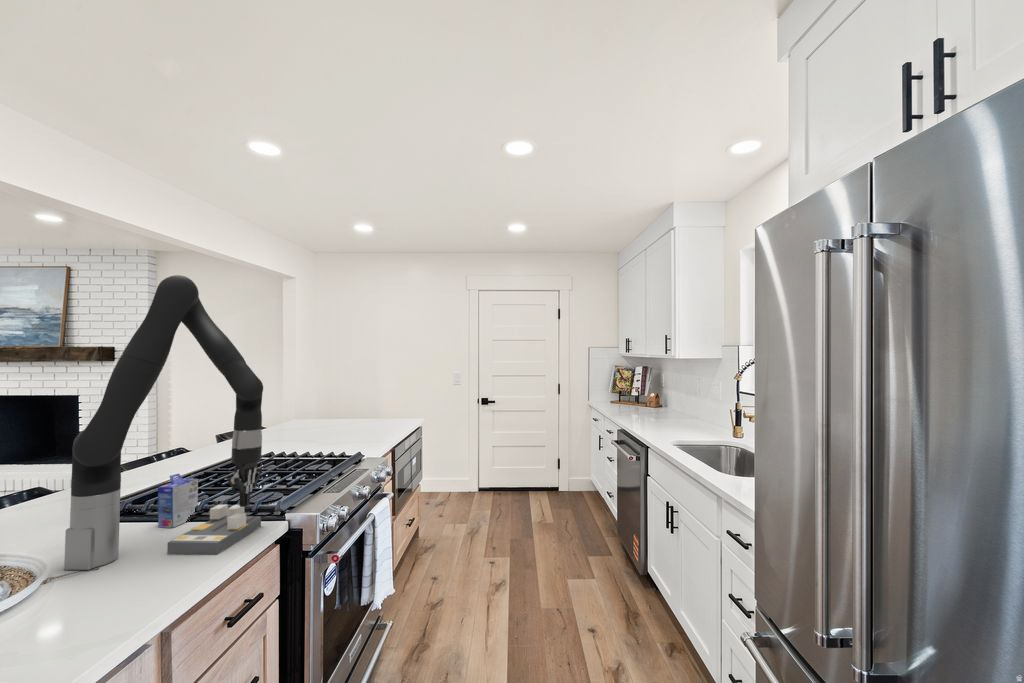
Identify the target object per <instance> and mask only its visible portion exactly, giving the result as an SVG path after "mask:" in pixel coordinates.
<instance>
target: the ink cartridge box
mask: <svg viewBox="0 0 1024 683" xmlns="http://www.w3.org/2000/svg"><path fill="white" fill-rule="evenodd" d="M175 477H177V478H176V479H174V478H175ZM169 479H170V482H169V483H166V484H164V485H161V486H158V487H157V504H158V505H157V515H158V518H157V521H158V523H157V525H158V528H166V529H172V528H175V527H178V526H180V525H182V524H185V523H186V521H187V519H188V517H190V515H192V514H193V513H194V512H195V507H196V506H197V505H198V504H199V502H198V501H199V500H198V498H199V496H198V494H199V482H198V481H199V479H198V478H187V477H186V478H183V477H182V476H181V474H180V473H175V474H172V475H169ZM198 506H199V505H198ZM187 522H188V521H187Z"/></svg>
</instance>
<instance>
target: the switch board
mask: <svg viewBox="0 0 1024 683" xmlns="http://www.w3.org/2000/svg"><path fill="white" fill-rule="evenodd" d="M227 520H228V519H227V516H225V517H223V518H221V519H209V520H208V521H206V522H204V523H201V524H199V525H196V526H195V527H192V528H191V529H190V530H188V531H186V532H185V533H183V534H181V535H179V536H177V537H174V538H173V539H171V540H170V541H168V542H167V544H166V546H167V550H166V551H167V552H166V554H167V555H195V556H196V555H197V556H200V555H203V556H204V555H206V556H207V555H208V556H211V555H212V556H213V555H215V556H216V555H219V554H221V553H222V552H224V551H225V550H227V549H228V548H230V547H232V546H233V545H235V544H236V543H238V542H239V541H241V540H242V539H244V538H245V537H247V536H248V535H251V534H252V533H253V532H254V531H257V530H259V528H261V526H262V516H258V515H255V516H253V515H251V516H249V515H246V524H245V525H243V526H242V527H240V528H238V529H227Z"/></svg>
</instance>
